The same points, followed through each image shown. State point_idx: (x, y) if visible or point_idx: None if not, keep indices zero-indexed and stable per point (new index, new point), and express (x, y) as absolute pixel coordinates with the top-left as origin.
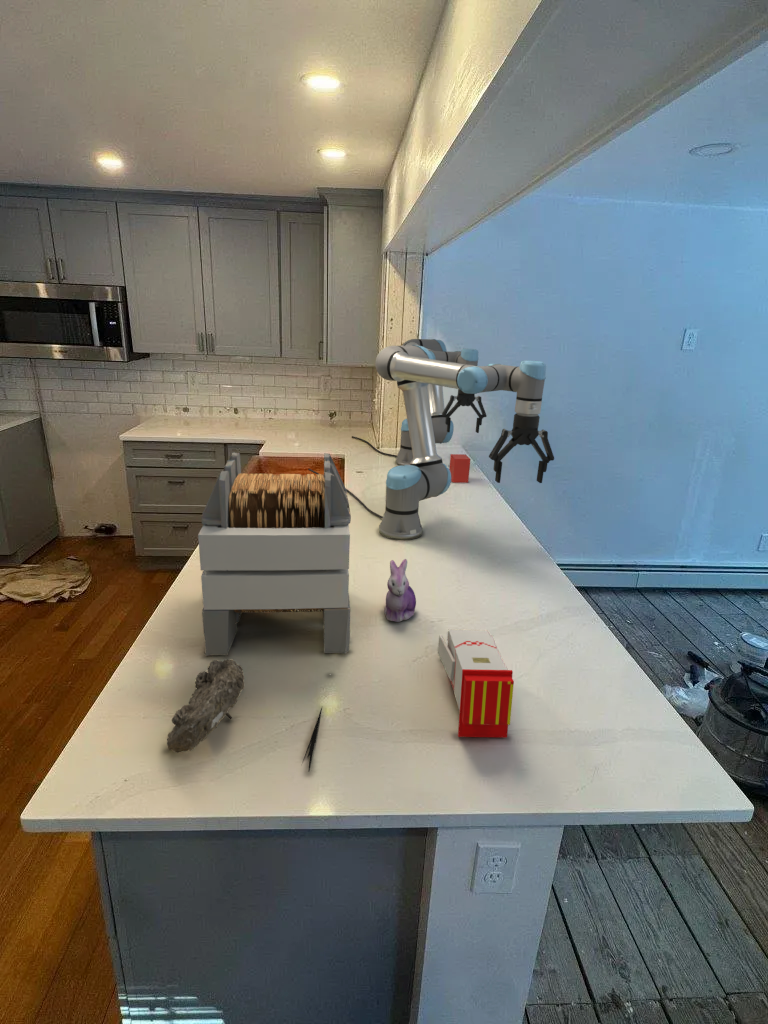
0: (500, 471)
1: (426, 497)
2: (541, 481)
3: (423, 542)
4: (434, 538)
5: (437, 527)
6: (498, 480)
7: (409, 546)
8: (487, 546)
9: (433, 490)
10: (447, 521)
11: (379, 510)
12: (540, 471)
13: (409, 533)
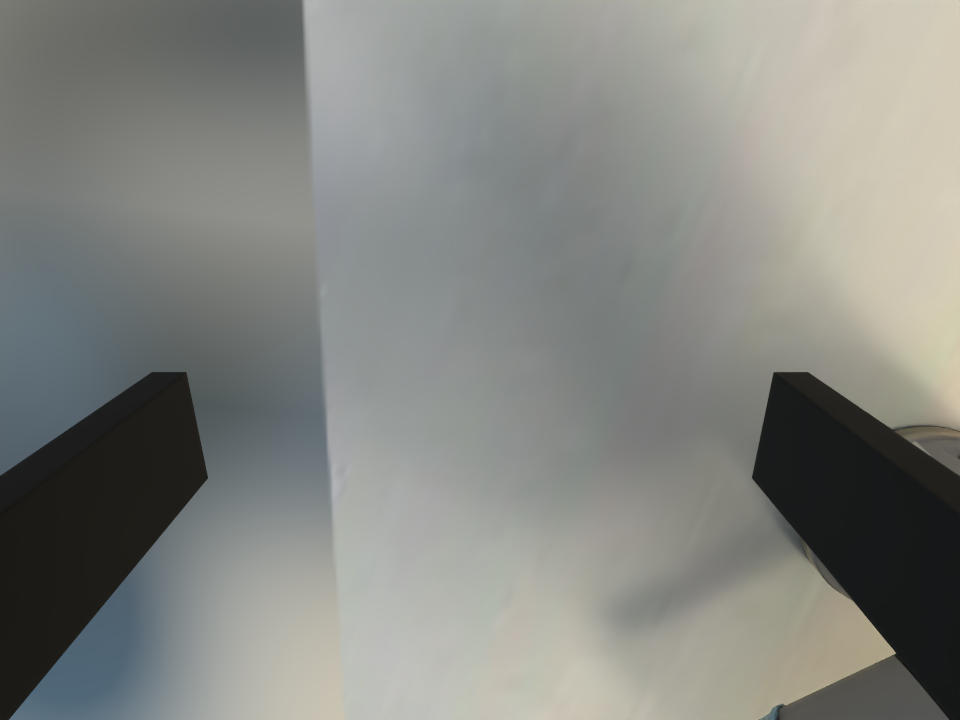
0: (908, 458)
1: (895, 660)
2: (149, 382)
3: None
4: None
5: (705, 557)
6: (819, 386)
7: (927, 363)
8: (550, 355)
9: (881, 704)
10: (635, 615)
11: None
12: (84, 489)
13: (921, 447)
